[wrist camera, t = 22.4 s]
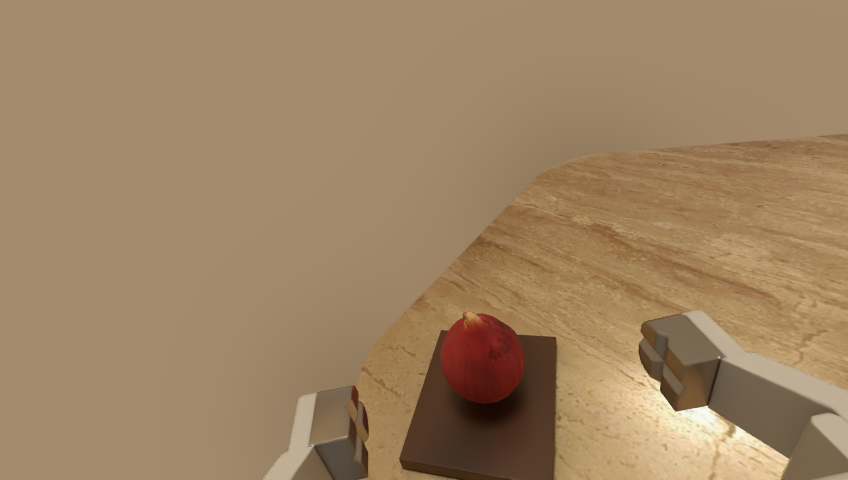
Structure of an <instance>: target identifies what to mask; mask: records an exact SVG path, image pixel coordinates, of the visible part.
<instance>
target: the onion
mask: <svg viewBox="0 0 848 480" xmlns="http://www.w3.org/2000/svg"><path fill="white" fill-rule="evenodd" d="M440 355H441V366H442V372H443V374H444V376H445V378H446V380H447V381H448V383H449V384H450V386H451V387H452V389H453V390H454V391H455V392H456V393H458V394H459V395H461V396H462V397H464V398H465V399H467V400H470V401H474V402H478V403H482V404H486V403H494V402H498V401H500V400H502V399H504V398H506V397H508V396H509V395H510V393H511V392H512V391H513V390H514V389H515V388H516V387H517V385H518V384H519V383H520V381H521V379H522V375H523V371H524V368H525V356H524V353H523V350H522V347H521V344H520V341H519V338H518V336H517V334H516V333H515V331H514V330H513V329H511V328H510V327H509V326H508V325H506V324H504V323H503V322H501V321H500V320H498V319H496V318H495V317H493V316H490V315H487V314H475V313H473V312H464V313H463V318H462V319H460V320H458V321H457V322H456V323H455V324H454V325H453V326H452V327H451V328H450V330H449V331H448V332H447V334H446V336H445V339H444V342H443V345H442V348H441V351H440Z"/></svg>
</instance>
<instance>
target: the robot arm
mask: <svg viewBox="0 0 848 480" xmlns="http://www.w3.org/2000/svg"><path fill="white" fill-rule="evenodd" d="M641 333H642V334H643V336H644V338H643V340H642V341H641V342H640V343H639V356H640V360H641V363H642V365H643V367H644V369H645V370H646V372H647V373H648V375H649V376H650V377H651V378H653V379H655V380H657V381H659V382H661V385H660V391H661V393H662V394H663V395H664V397H665V398H666V399H667V401H668V402H669V403H670V405H671V406H672V408H673V409H674V410H675V412H676V411H681V410H687V409H692V408H698V407H703V406H708V408H710V409H711V410H713V411H715V412H716V413H718V414H719V415H721V416H722V417H724V418H726V419H727V420H729V421H730V422H732V423H733V424H735V425H737V426H738V427H740V428H741V429H743V430H745V431H746V432H748V433H749V434H751V435H752V436H754V437H756V438H757V439H759V440H760V441H762V442H764V443H765V444H767V445H768V446H770V447H771V448H773V449H775V450H776V451H778V452H779V453H781V454H782V455H784V456H786V457H787V458H789V461H788V463H787V465H786V467H785V469H784V471H783V473H782V478H781V480H848V390H846V389H844V388H841V387H839V386H836V385H834V384H831V383H829V382H826V381H824V380H822V379H819V378H817V377H814V376H812V375H809V374H807V373H804V372H802V371H799V370H797V369H795V368H792V367H790V366H787V365H785V364H782V363H780V362H777V361H775V360H772V359H770V358H768V357H765V356H763V355H760V354H758V353H755V352H750V353H748V352H746V351H745V350H744V349H743V348H742V347H741V346H740V345H739V344H738V343H737V342H736V341H735V340H734V339H733V338H732V337H731V336H729V335H728V334H727V333H726V332H725V331H724V330H723V329H722V328H721V327H720V326H719V325H718V324H717V323H716V322H715V321H714V320H713V319H711V318H710V317H709V316H708V315H707V314H706V313H705V312H704V311H701V310H695V311H690V312H686V313H681V314H675V315H671V316H667V317H662V318H658V319H654V320H649V321H645V322H644V323H643V324H642V325H641ZM368 437H369V427H368V419H367V414H366V410H365V407H364V405H363V403H362V402H360V401H358V391H357V389H356V387H355V386H348V387H343V388H337V389H333V390H327V391H322V392H317V393H312V394H307V395H303V396H301V397H300V398H299V400H298V403H297V408H296V413H295V418H294V423H293V428H292V433H291V438H290V443H289V448H288V452H286V453H282V455H281V456H280V457H279V458H278V460H277V461H276V462H275V464H274V465H273V466H272V468H271V469H270V470H269V471H268V473H267V474H266V476H265V477H264V478H263V479H262V480H359V479H363V478H367V477H368V451H367V449H366V447H365V445H364V444H365V442H366V441H367V439H368Z"/></svg>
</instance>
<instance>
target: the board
mask: <svg viewBox="0 0 848 480" xmlns="http://www.w3.org/2000/svg"><path fill="white" fill-rule="evenodd" d="M447 332H448V331H445V330H441V332H440V335H439V338H438V341H437V344H436V347H435V350H434V354H433V357H432V360H431V363H430V366H429V369H428V372H427V375H426V378H425V381H424V384H423V387H422V390H421V394H420V397H419V400H418V403H417V406H416V409H415V412H414V415H413V418H412V421H411V424H410V427H409V430H408V433H407V437H406V440H405V443H404V446H403V449H402V452H401V455H400V458H399V460H400V463H401V465H402V467H403V468H404V469H409V470H414V471H420V472H425V473H431V474H436V475H441V476H447V477H452V478H457V479H463V480H554V456H555V406H556V355H557V344H556V337H547V336H530V335H517V336H518V338H519V341H520V344H521V347H522V350H523V353H524V356H525V368H524V371H523V375H522V379H521V381H520V383H519V384H518V385H517V387H516V388H515V389H514V390H513V391H512V392H511V393H510V395H509V396H508V397H506V398H504V399H502V400H500V401H498V402H494V403H486V404H482V403H478V402H474V401H470V400H467V399H465V398H464V397H462V396H461V395H459V394H458V393H456V392H455V391H454V390H453V389H452V387H451V386H450V384H449V383H448V381H447V380H446V378H445V376H444V374H443V372H442V366H441V355H440V351H441V348H442V345H443V342H444V339H445V336H446V334H447Z"/></svg>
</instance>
